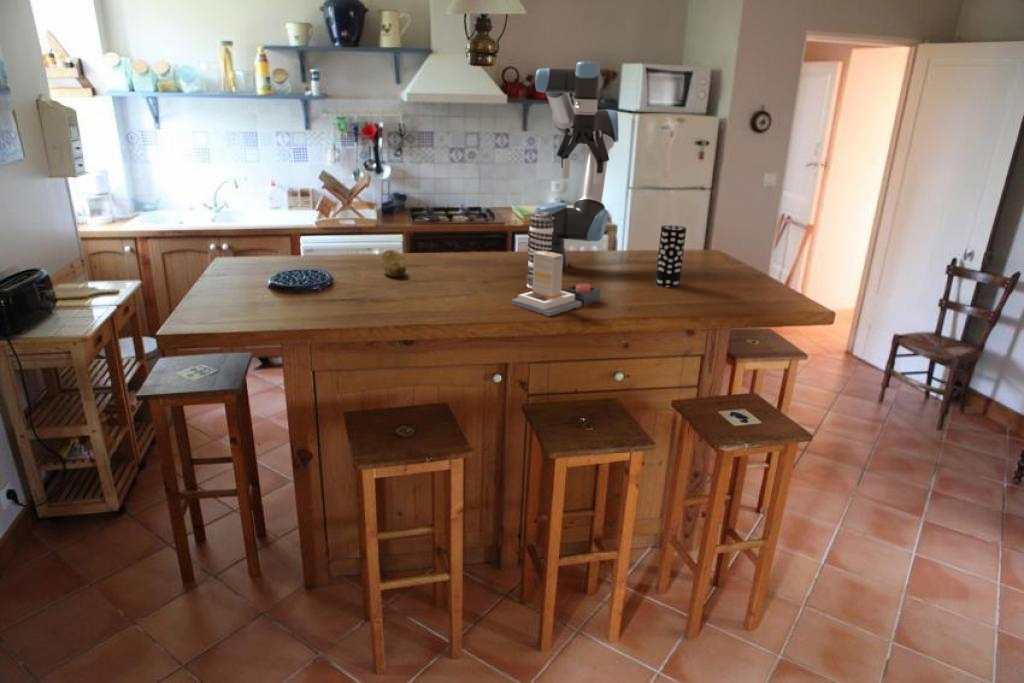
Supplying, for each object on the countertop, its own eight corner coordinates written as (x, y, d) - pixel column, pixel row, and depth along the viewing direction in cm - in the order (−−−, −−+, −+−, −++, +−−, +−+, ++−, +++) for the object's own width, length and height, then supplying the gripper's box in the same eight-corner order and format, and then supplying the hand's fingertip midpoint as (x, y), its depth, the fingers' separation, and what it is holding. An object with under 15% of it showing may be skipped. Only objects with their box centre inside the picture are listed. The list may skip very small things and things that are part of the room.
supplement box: (561, 296, 208) (564, 254, 204) (551, 299, 205) (553, 257, 200) (541, 290, 214) (543, 249, 209) (531, 293, 210) (533, 252, 206)
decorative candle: (520, 286, 229) (522, 212, 220) (535, 281, 236) (538, 209, 227) (542, 292, 224) (545, 216, 215) (557, 286, 231) (561, 213, 222)
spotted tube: (679, 288, 232) (686, 231, 225) (655, 286, 234) (661, 229, 226) (679, 282, 240) (685, 226, 233) (655, 280, 241) (661, 224, 234)
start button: (571, 296, 216) (572, 285, 214) (581, 293, 219) (582, 282, 218) (583, 299, 212) (584, 288, 211) (593, 296, 216) (593, 285, 214)
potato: (382, 279, 233) (381, 256, 230) (381, 269, 245) (380, 248, 242) (406, 278, 235) (405, 256, 232) (404, 269, 246) (403, 247, 244)
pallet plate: (511, 304, 211) (511, 293, 210) (544, 295, 221) (544, 284, 220) (548, 316, 200) (549, 305, 199) (581, 306, 210) (582, 296, 209)
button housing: (564, 300, 216) (565, 288, 215) (580, 295, 221) (581, 283, 220) (583, 306, 211) (584, 293, 209) (599, 301, 216) (600, 289, 215)
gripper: (548, 111, 222) (545, 177, 230) (608, 115, 206) (603, 186, 214) (563, 111, 227) (560, 175, 235) (623, 115, 211) (617, 184, 218)
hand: (580, 181), depth 224 cm, fingers open, 13 cm apart
